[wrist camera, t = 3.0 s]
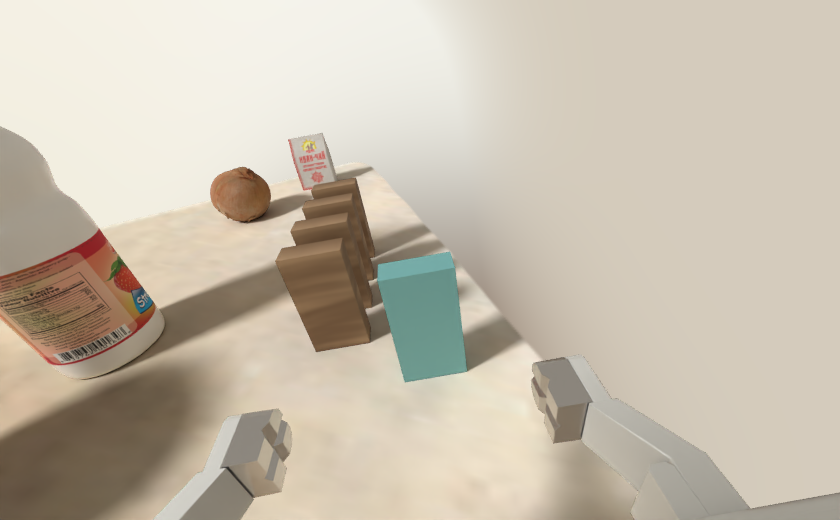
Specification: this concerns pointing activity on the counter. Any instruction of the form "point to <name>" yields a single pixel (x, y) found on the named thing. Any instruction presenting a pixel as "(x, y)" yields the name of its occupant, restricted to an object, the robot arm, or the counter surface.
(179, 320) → the counter surface
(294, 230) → the domino
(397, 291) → the teal domino tile
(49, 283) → the fruit juice
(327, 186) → the domino
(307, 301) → the domino
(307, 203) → the domino
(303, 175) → the tea bag
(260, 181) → the onion
